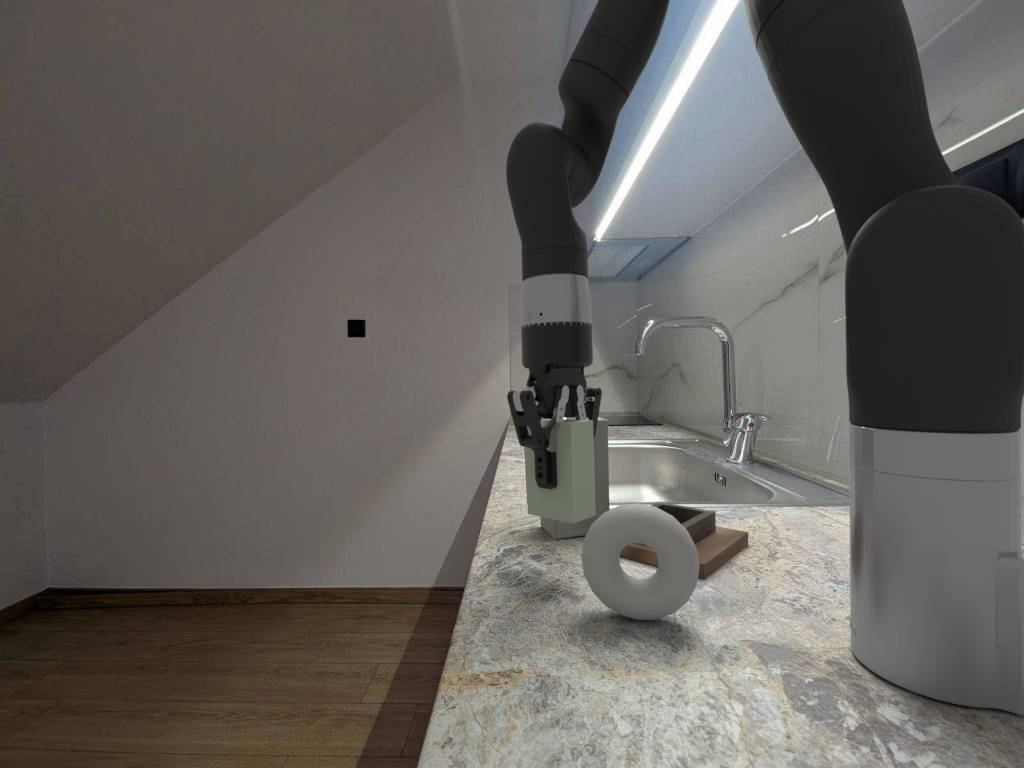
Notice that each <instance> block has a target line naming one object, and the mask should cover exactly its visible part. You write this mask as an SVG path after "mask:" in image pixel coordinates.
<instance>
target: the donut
mask: <svg viewBox="0 0 1024 768" xmlns="http://www.w3.org/2000/svg"><path fill="white" fill-rule="evenodd" d="M582 542H583V544H582V551H581V556H580V557H581V563H582V570H583V576H584V577H585V579H586V582H587V584H588V586H589V588H590V589H591V592H592V593H593V594H594V595H595V597H597V599H598V600H600V602H601V603H602V604H603V605H604V606H605V607H607V608H608V609H610V610H612V611H613V612H615V613H616V614H618V615H620V616H621V617H626V618H629V619H633V620H636V621H654V620H660V619H663V618H665V617H669V616H671V615H673V614H675V613H677V611H679V610H680V609H682V607H683V606H685V605H686V604H687V603H688V602H689V601H690V599H691V597H692V595H693V593H695V590H696V588H697V586H698V580H699V577H698V574H699V568H700V565H699V559H698V554H697V548H696V546H695V544H694V542H693V540H692V538H691V537H690V535H689V533H688V531H687V530H686V529H685V528H684V527H683V526H682V525H681V524H680V523H679V522H678V521H677V520H676V519H675V518H674V517H673V516H672V515H670V514H668V513H666V512H664V511H663V510H661V509H659V508H657V507H654V506H650V505H647V504H643V503H628V504H620V505H618V506H615V507H613V508H611V509H610V510H609V511H606V512H604V513H603V514H602V515H601V516H600V517H599V518H598V519H597V520H596V521H595V522H594V523H593V524H592V525H591V527H590V529H589V531H588V532H587V534H586V535H584V538H583V541H582ZM632 543H641V544H645V545H647V546H649V547H651V548H652V549H653V550H654V551H655V553H656V555H657V557H658V562H659V563H658V566H657V569H656V570H655V572H654V573H653V574H652V575H650V576H648V577H644V578H637V577H633V576H631V575H630V574H628V573H627V572H626V571H625V570H624V569H623V567H622V565H621V562H620V557H621V556H620V553H621V551H622V549H623V548H624V547H625V546H627V545H629V544H632Z"/></svg>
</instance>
